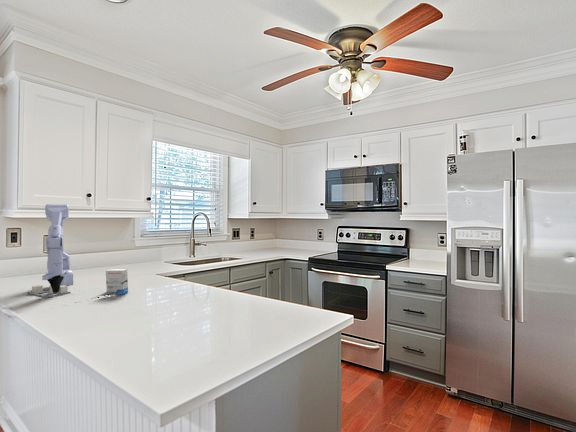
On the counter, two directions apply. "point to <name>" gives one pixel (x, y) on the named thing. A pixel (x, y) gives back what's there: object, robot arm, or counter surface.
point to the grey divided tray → (47, 294)
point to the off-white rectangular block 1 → (37, 289)
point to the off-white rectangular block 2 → (62, 289)
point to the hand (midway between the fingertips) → (55, 292)
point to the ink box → (117, 281)
